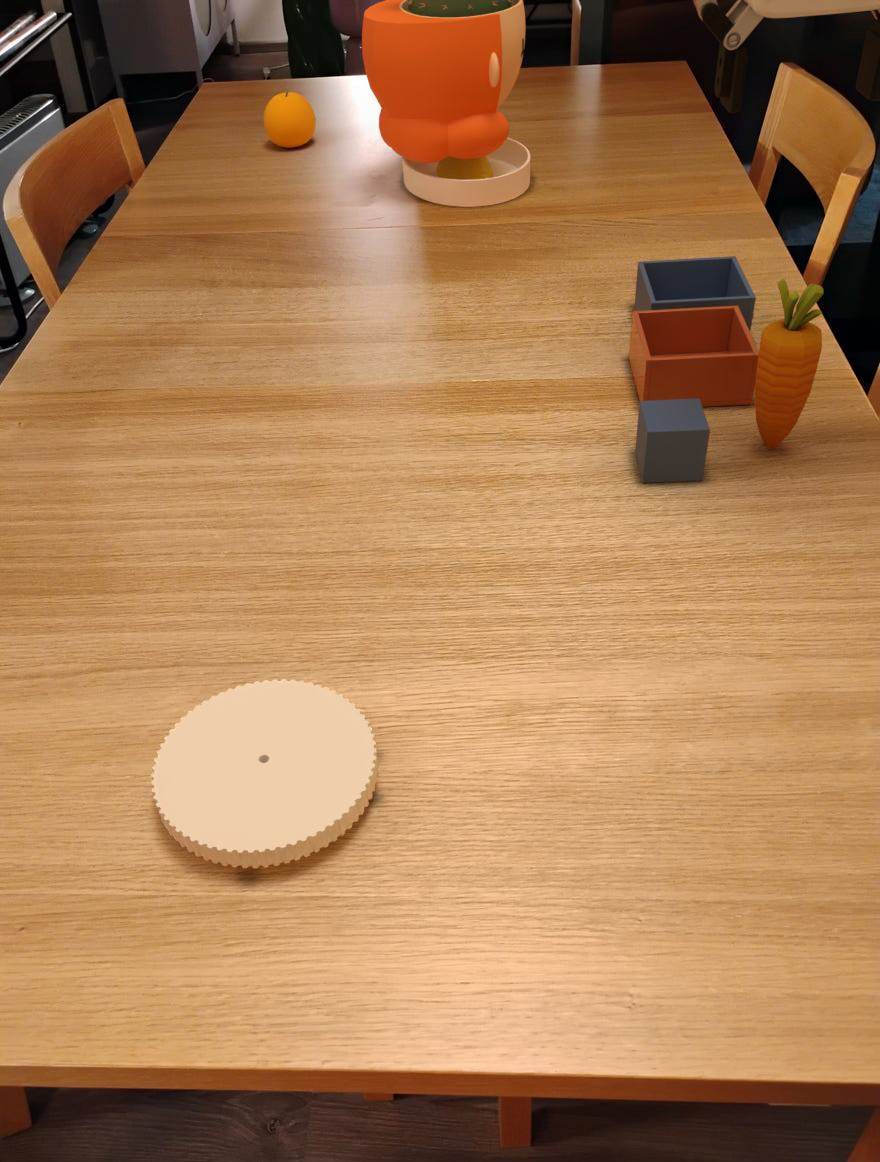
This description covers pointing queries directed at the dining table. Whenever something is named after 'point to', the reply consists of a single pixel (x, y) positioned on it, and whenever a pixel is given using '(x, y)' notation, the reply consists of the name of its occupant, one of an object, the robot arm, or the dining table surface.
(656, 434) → the block
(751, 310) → the blue bin
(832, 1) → the robot arm
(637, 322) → the terracotta bin
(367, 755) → the beige gear wheel
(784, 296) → the carrot
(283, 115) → the orange
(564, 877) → the dining table surface
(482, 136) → the potted cactus
